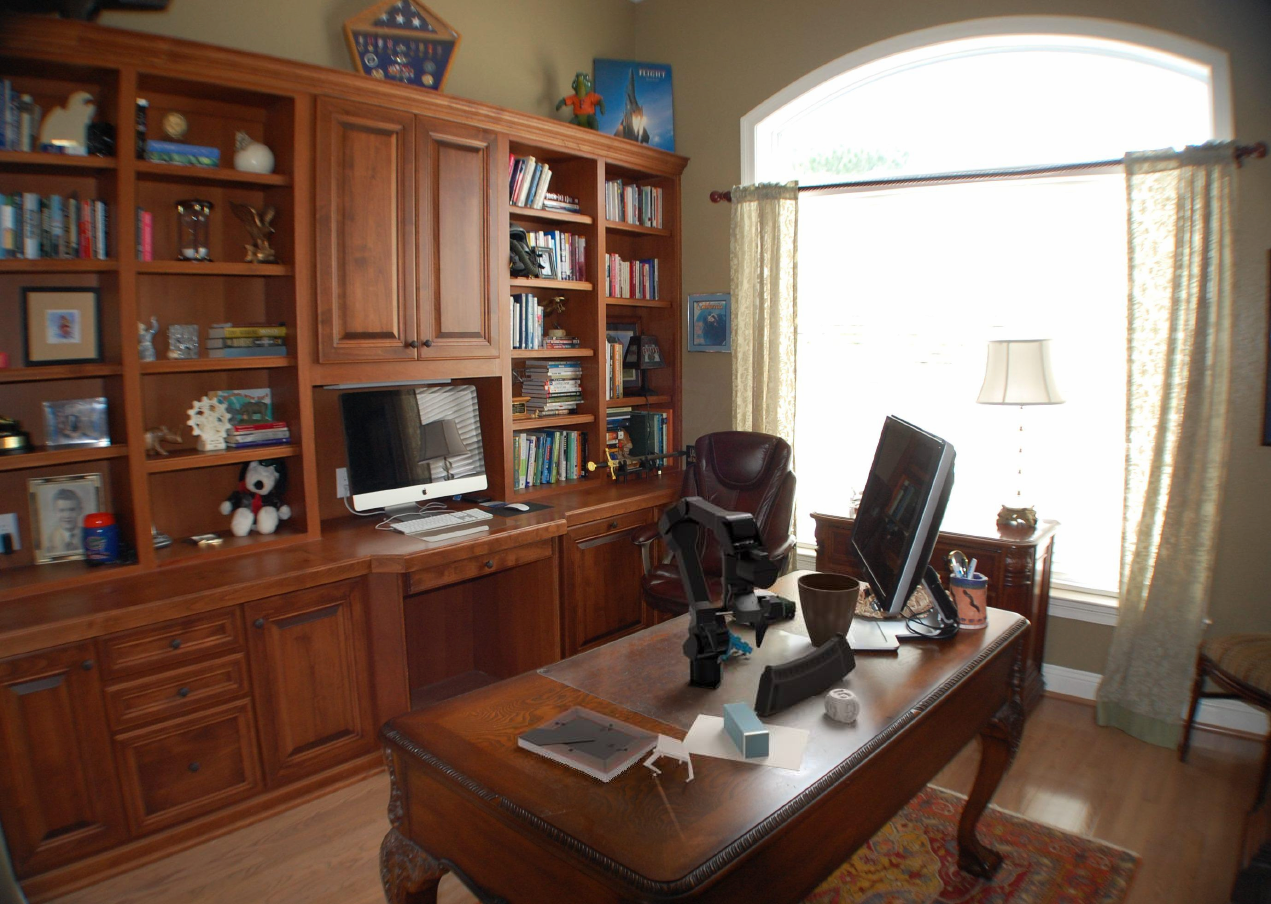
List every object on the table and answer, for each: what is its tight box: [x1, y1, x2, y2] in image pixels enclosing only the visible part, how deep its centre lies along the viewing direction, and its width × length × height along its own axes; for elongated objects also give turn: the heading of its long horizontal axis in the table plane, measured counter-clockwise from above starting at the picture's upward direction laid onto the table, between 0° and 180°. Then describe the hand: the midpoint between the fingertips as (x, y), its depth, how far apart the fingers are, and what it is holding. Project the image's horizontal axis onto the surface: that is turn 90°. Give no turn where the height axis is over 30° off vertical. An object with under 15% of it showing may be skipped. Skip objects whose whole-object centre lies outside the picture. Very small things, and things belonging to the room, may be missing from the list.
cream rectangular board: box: [681, 713, 811, 771], centre depth 151 cm, size 22×15×1 cm
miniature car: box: [728, 588, 797, 630], centre depth 216 cm, size 9×18×8 cm, turn 122°
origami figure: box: [642, 732, 694, 783], centre depth 140 cm, size 12×8×5 cm
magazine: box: [753, 632, 857, 717], centre depth 169 cm, size 17×3×30 cm
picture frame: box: [517, 705, 659, 783], centre depth 151 cm, size 16×2×22 cm
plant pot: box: [797, 572, 861, 649], centre depth 197 cm, size 15×15×16 cm
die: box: [823, 688, 861, 724], centre depth 160 cm, size 5×5×5 cm
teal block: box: [723, 701, 769, 759], centre depth 150 cm, size 4×4×12 cm
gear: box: [721, 630, 754, 661], centre depth 191 cm, size 11×6×10 cm
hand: (736, 649), depth 165 cm, fingers open, 9 cm apart
